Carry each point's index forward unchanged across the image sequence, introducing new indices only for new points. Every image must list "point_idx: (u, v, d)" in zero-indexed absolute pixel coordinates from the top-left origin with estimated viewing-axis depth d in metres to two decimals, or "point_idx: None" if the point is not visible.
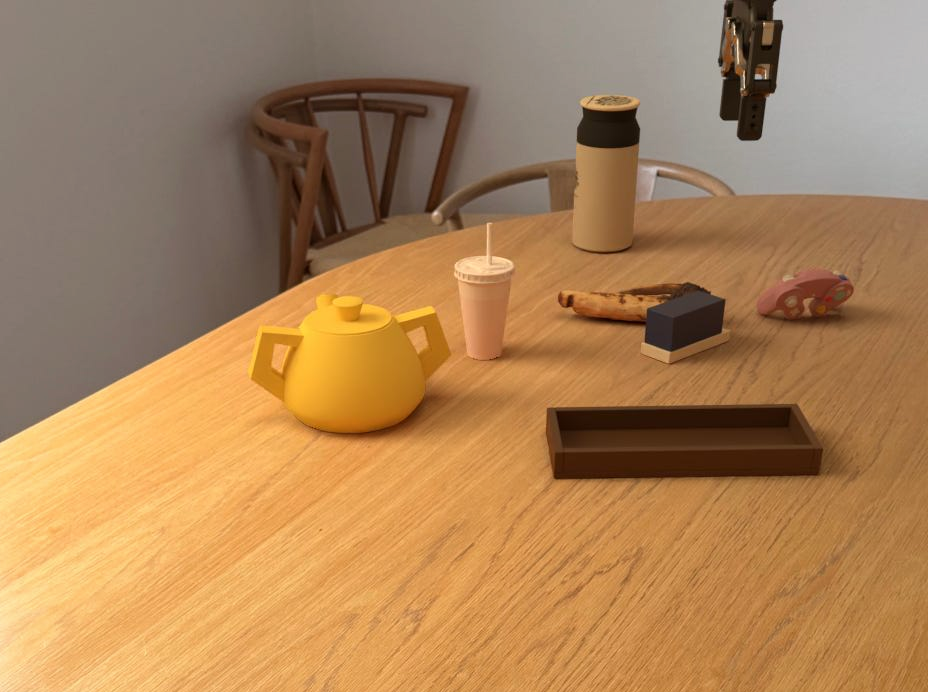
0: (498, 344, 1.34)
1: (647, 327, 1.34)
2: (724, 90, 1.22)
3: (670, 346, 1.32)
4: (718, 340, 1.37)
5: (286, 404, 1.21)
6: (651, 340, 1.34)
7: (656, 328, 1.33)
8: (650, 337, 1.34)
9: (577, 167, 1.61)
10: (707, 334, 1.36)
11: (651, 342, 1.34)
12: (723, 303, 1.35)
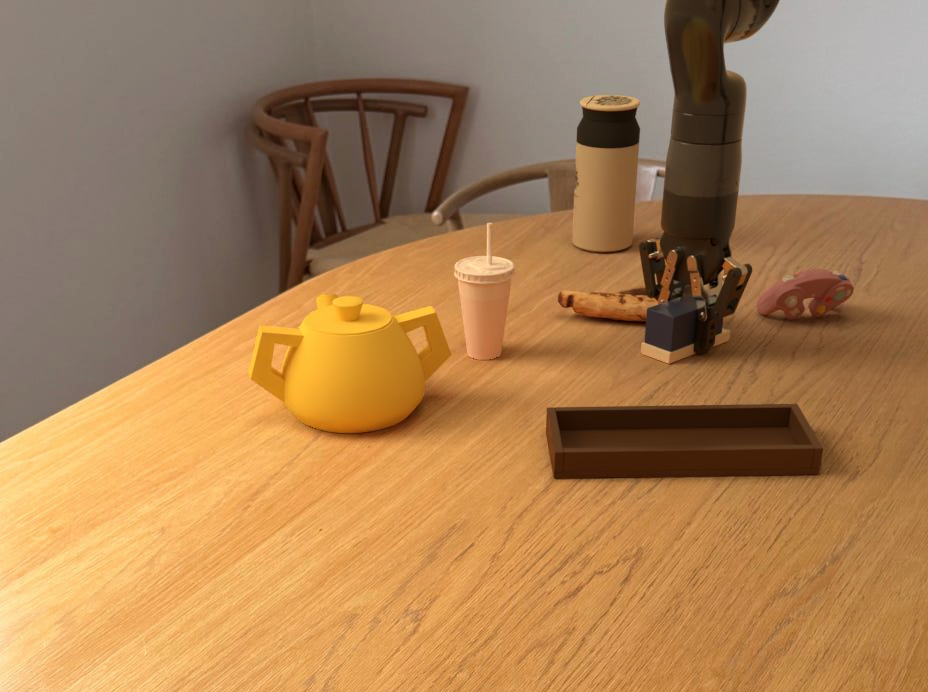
0: (498, 344, 1.34)
1: (647, 327, 1.34)
2: None
3: (670, 346, 1.32)
4: (718, 340, 1.37)
5: (286, 404, 1.21)
6: (651, 340, 1.34)
7: (656, 328, 1.33)
8: (650, 337, 1.34)
9: (577, 167, 1.61)
10: None
11: (651, 342, 1.34)
12: None
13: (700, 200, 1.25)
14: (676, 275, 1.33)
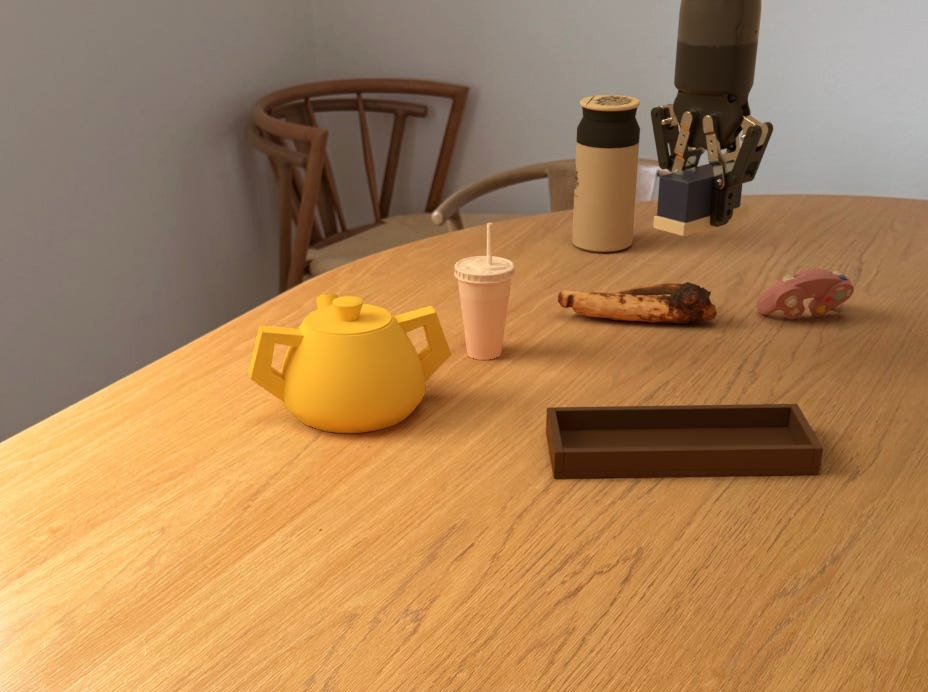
0: (498, 344, 1.34)
1: (660, 198, 1.25)
2: None
3: (685, 216, 1.23)
4: (736, 214, 1.28)
5: (286, 404, 1.21)
6: (664, 212, 1.25)
7: (670, 197, 1.24)
8: (663, 209, 1.25)
9: (577, 167, 1.61)
10: None
11: (664, 214, 1.25)
12: None
13: (717, 49, 1.16)
14: (691, 140, 1.24)
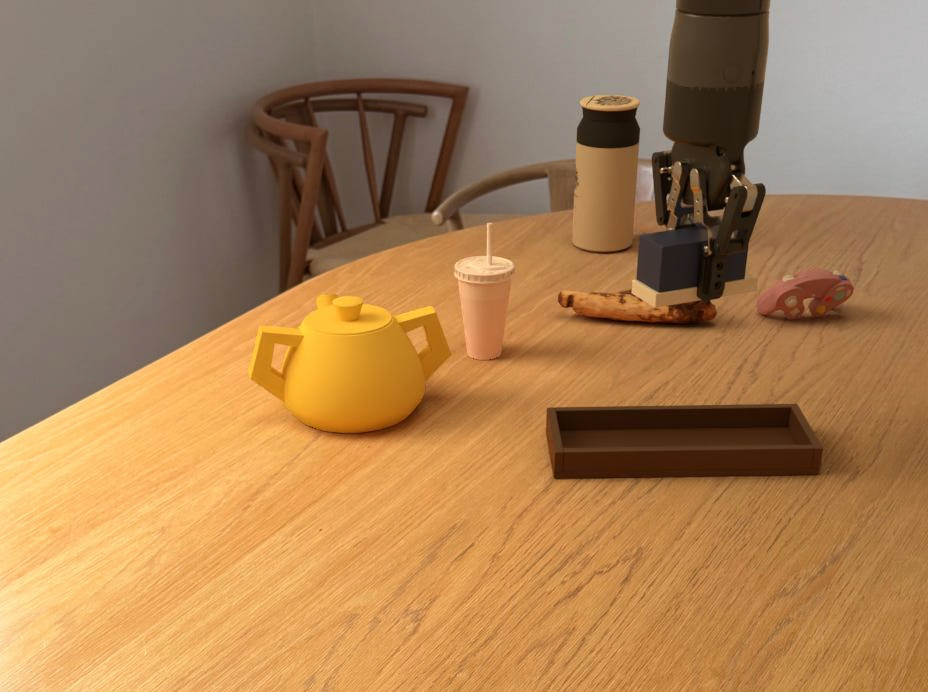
0: (498, 344, 1.34)
1: (638, 259, 1.06)
2: None
3: (658, 285, 1.04)
4: (738, 288, 1.07)
5: (286, 404, 1.21)
6: (642, 276, 1.06)
7: (647, 261, 1.04)
8: (641, 273, 1.06)
9: (577, 167, 1.61)
10: None
11: (642, 279, 1.06)
12: None
13: (699, 91, 0.95)
14: (683, 196, 1.04)
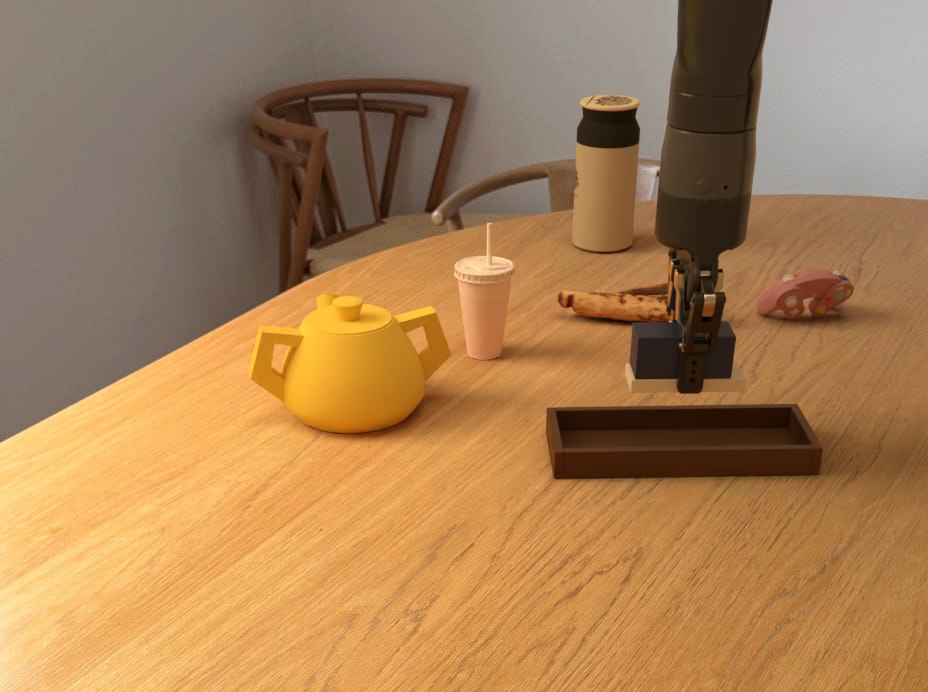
0: (498, 344, 1.34)
1: (631, 345, 1.11)
2: None
3: (636, 372, 1.09)
4: (723, 386, 1.10)
5: (286, 404, 1.21)
6: (631, 361, 1.11)
7: (633, 348, 1.10)
8: (631, 358, 1.11)
9: (577, 167, 1.61)
10: None
11: (631, 364, 1.12)
12: (731, 341, 1.08)
13: (673, 199, 1.00)
14: None
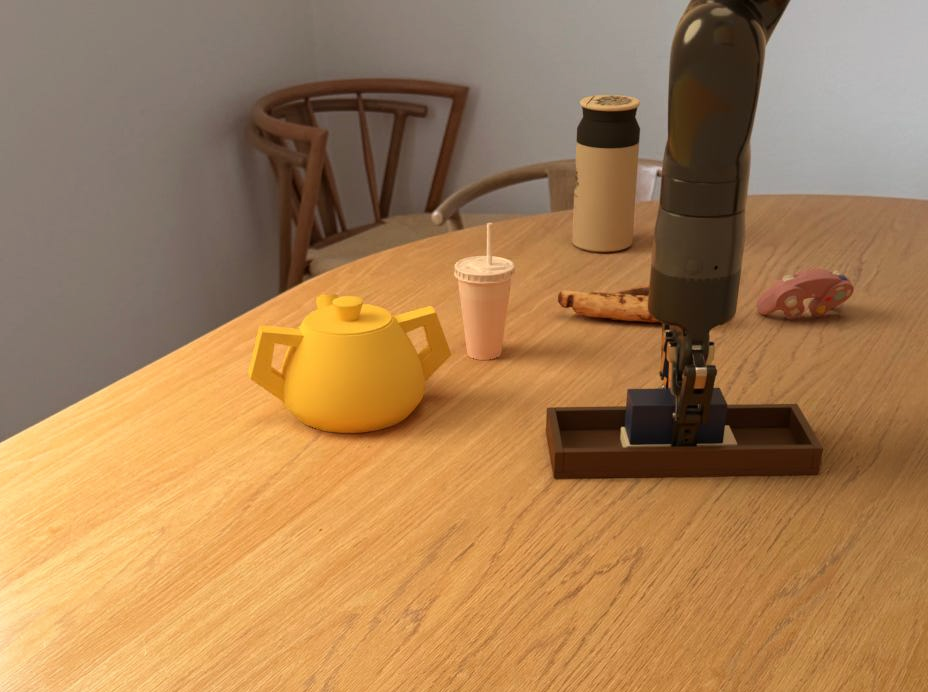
0: (498, 344, 1.34)
1: (626, 410, 1.15)
2: None
3: (630, 438, 1.13)
4: None
5: (286, 404, 1.21)
6: (626, 426, 1.15)
7: (628, 414, 1.14)
8: (626, 422, 1.15)
9: (577, 167, 1.61)
10: None
11: (626, 428, 1.15)
12: (723, 408, 1.11)
13: (665, 278, 1.04)
14: None
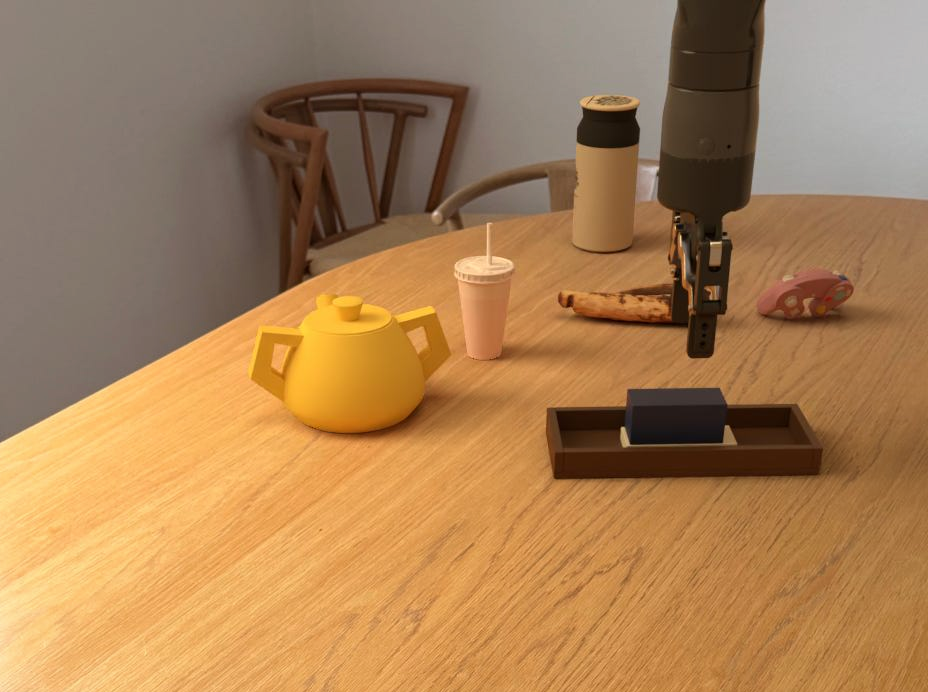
0: (498, 344, 1.34)
1: (626, 410, 1.15)
2: (674, 292, 1.11)
3: (630, 438, 1.13)
4: None
5: (286, 404, 1.21)
6: (626, 426, 1.15)
7: (628, 414, 1.14)
8: (626, 422, 1.15)
9: (577, 167, 1.61)
10: (695, 439, 1.13)
11: (626, 428, 1.15)
12: (723, 408, 1.11)
13: (676, 160, 0.99)
14: None
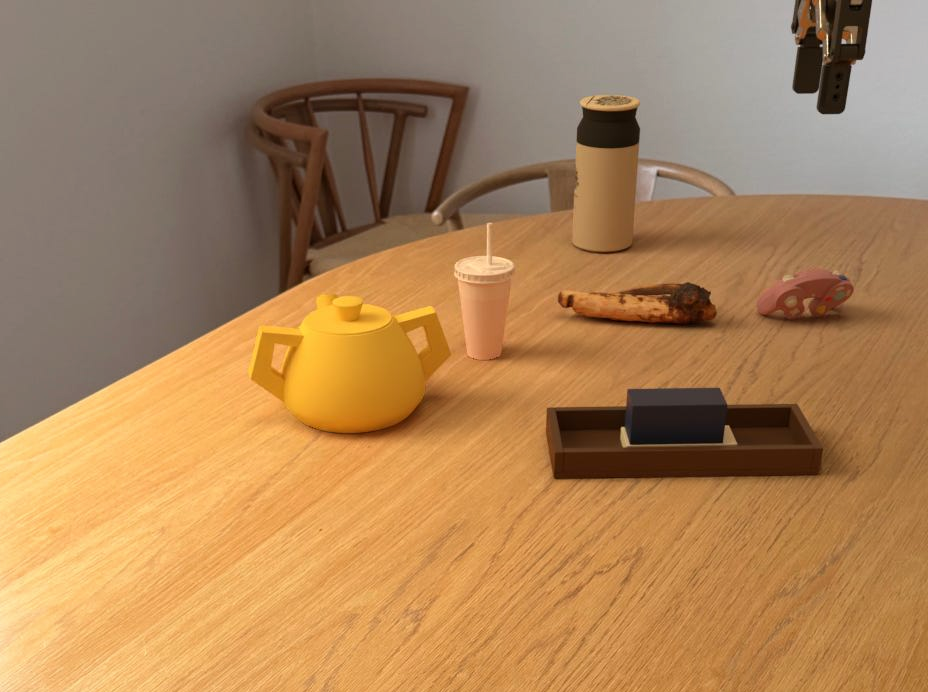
0: (498, 344, 1.34)
1: (626, 410, 1.15)
2: (799, 59, 1.10)
3: (630, 438, 1.13)
4: None
5: (286, 404, 1.21)
6: (626, 426, 1.15)
7: (628, 414, 1.14)
8: (626, 422, 1.15)
9: (577, 167, 1.61)
10: (695, 439, 1.13)
11: (626, 428, 1.15)
12: (723, 408, 1.11)
13: None
14: (812, 13, 1.05)
